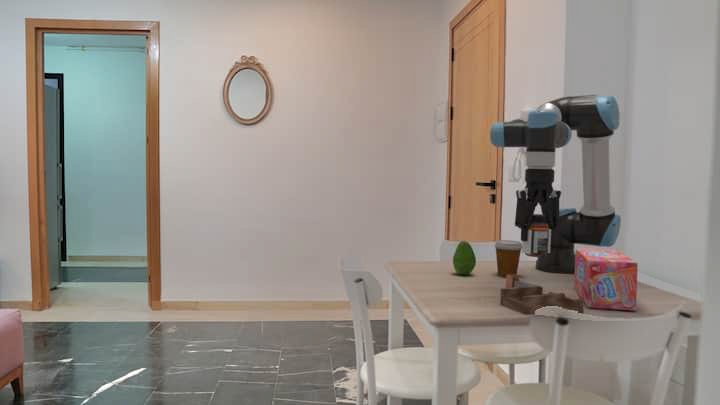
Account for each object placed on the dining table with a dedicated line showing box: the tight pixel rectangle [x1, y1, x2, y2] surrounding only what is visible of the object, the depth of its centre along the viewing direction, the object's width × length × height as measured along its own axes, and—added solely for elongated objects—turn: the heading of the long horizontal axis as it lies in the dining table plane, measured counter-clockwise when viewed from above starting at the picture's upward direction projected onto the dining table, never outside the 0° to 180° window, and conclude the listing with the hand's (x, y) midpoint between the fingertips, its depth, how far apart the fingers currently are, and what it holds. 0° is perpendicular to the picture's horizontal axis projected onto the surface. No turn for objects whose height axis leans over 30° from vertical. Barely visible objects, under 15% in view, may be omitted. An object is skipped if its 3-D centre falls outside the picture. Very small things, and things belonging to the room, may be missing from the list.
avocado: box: [452, 240, 477, 276], centre depth 192 cm, size 8×8×12 cm
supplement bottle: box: [524, 213, 549, 258], centre depth 149 cm, size 6×6×11 cm
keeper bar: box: [505, 274, 544, 295], centre depth 165 cm, size 3×14×4 cm, turn 23°
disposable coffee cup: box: [494, 239, 522, 278], centre depth 192 cm, size 10×10×12 cm
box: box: [573, 247, 638, 312], centre depth 162 cm, size 27×13×14 cm, turn 166°
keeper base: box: [499, 284, 585, 315], centre depth 149 cm, size 17×14×4 cm
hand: (535, 252), depth 150 cm, fingers closed on supplement bottle, 6 cm apart
